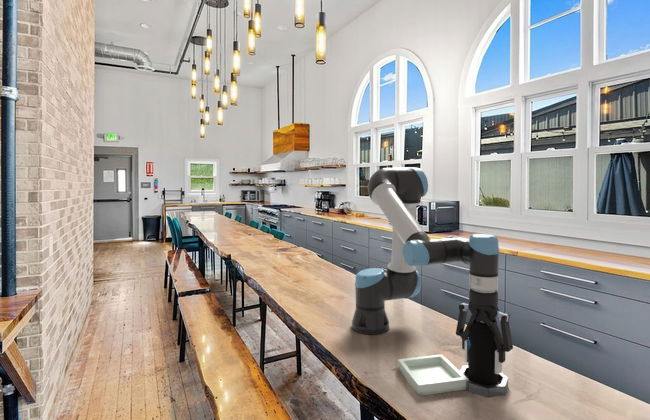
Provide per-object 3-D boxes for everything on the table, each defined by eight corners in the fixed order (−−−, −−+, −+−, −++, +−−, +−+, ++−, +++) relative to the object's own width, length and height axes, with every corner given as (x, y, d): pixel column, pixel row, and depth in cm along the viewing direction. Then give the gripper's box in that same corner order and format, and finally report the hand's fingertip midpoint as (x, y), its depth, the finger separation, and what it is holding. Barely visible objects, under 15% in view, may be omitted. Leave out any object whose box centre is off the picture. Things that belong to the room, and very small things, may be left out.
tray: (397, 368, 114) (397, 359, 113) (441, 363, 116) (441, 354, 116) (418, 395, 99) (418, 385, 99) (468, 389, 102) (468, 378, 101)
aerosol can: (504, 384, 103) (505, 316, 101) (486, 393, 98) (487, 322, 97) (478, 372, 110) (479, 307, 108) (461, 380, 105) (461, 313, 104)
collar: (451, 375, 109) (451, 367, 109) (488, 370, 111) (488, 362, 111) (475, 399, 97) (475, 390, 97) (516, 393, 99) (517, 384, 99)
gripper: (442, 284, 108) (442, 357, 109) (516, 300, 92) (515, 386, 93) (456, 279, 112) (455, 349, 114) (528, 294, 96) (527, 375, 98)
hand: (482, 366), depth 104 cm, fingers closed on aerosol can, 8 cm apart
